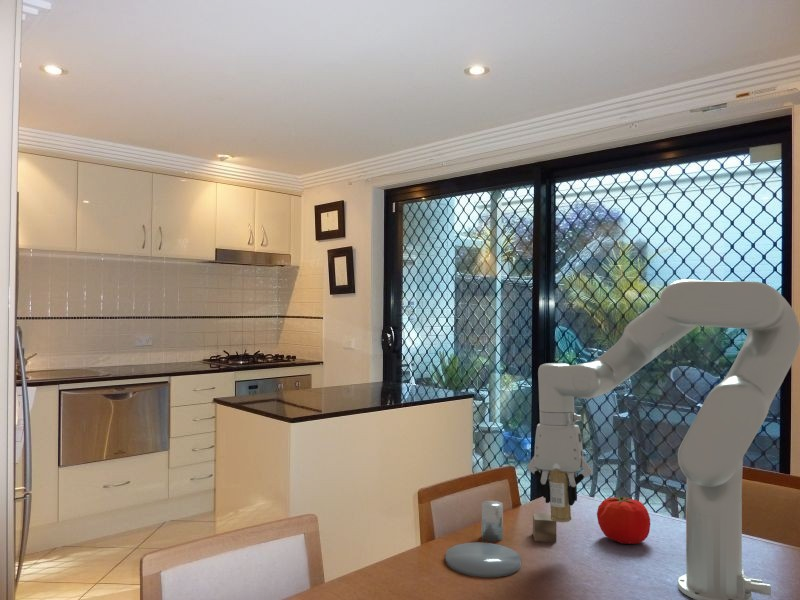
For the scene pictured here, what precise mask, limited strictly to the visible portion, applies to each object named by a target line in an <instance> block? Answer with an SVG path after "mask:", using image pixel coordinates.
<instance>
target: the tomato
mask: <svg viewBox="0 0 800 600" xmlns="http://www.w3.org/2000/svg"><path fill="white" fill-rule="evenodd" d="M633 496H634V495H630V496H628V497H624V496H617V497H615V496H612V497H608V498H605V499H604V500H603V501H601V503H599V505H598V507H597V510H596V517H597V522H598V523H597V524H598V525H599V528H600V530H601V532H602V533H603V535H604V536H605V537H607V538H608V539H609V540H612V541H615V542H617V543H620V544H629V545H636V544H639V543H642V542H644V541H645V540H646V539H647V538H648V536H649V534H650V531H651V530H650V529H651V516H650V514H649V511H648V509H647V508H646V506H645V505H644V504H643V502H641V501H639V500H637V499H632V498H631V497H633Z"/></svg>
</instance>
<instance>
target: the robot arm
mask: <svg viewBox="0 0 800 600" xmlns="http://www.w3.org/2000/svg"><path fill="white" fill-rule="evenodd" d="M799 322H800V321H799V320H798V317H797V315H796V312H795V311H794V309H793V307H792V306H791V305H790V303H789V302H788V301H787V299H786V298H785V297H784V296H783V295H782V294H781V293H780V292H779V291H778V290H777V289H776V288H774V287H773V286H771V285H769V284H767V283H764V282H759V281H742V280H740V281H739V280H736V281H735V280H733V281H731V280H700V279H699V280H698V279H697V280H696V279H679V280H675V281H673V282H672V283H670V284H668V285H667V286H666V287H665V288H664V289H663V291H662V293H661V294H660V297H659V299H658V300H657V301H656V302H655V303H653V304H652V305H651V306H650V307H648V308H647V309H646V310H644V311H643V312H641V314H639V315H638V316H636V317H635V318H634V319H633V320H631V321H630V322H629V323H628V324H627V325H626V326H625V327H624V330H623V333H622V334H621V336H620V338H619V339H618V340H617V342H615V343H614V344H613V345H612V346H611V347H610V348H608V349H607V350H606V351H605V352H603V353H602V354H601V355H600V356H598V357H597V358H596V359H594V360H593V361H587V362H583V363H578V364H569V363H564V362H551V363H550V362H548V363H547V362H546V363H543V364H540V365H539V367H538V369H537V370H538V371H537V377H538V381H537V382H538V403H539V404H538V405H539V408H538V409H539V423H538V424H537V425H536V430H535V436H534V437H535V438H534V440H535V441H534V455H533V456H532V458H531V459H530V461H529V463H528V464H527V465H526V469H527V470H528V471H529V472H531V473H532V474H533V475H534V476H535V477H536V478H537V479H538V481H540V483H541V485H542V496H543V498H544V500H545V501H544V502H545V503H546V504H550V487H549V471H553V470H554V468H553V465H554V464H555V463H556V464H558V465H559V466H560V469H558V470H560V471H562V472H566V473H567V474H568V478H569V487H568V501H569V505H570V507H571V506H573V505H574V504H575V503H576V502H577V501H578V490H577V489H578V487H577V486H578V484H580V483H581V482H582V480H584V479H586V478H587V477H589V476H591V475H592V474H593V471H594V470H593V469H592V468H591V466H590V465H589V464H588V462H587V461H586V460H585V458H584V448H583V440H582V435H581V429H580V426H579V424H576V422H578V421H579V422H581V421H582V414H578V413H576V411H575V398H577V399H585V400H586V399H587V400H589V399H590V400H591V399H593V398H597V397H599V396H602V395H605V394H608V393H610V392H611V391H613V390H614V389H615V388H617V387H618V386H620V385H621V384H622V383H624V381H626V380H628V379H630V377H632V376H633V375H634V374H636V373H637V372H638V371H639V370H641V369H642V368H643V367H644V366H646V365H647V364H649V363H650V362H652V361H653V360H654V359H655V358H657V356H659V355H660V354H662V353H663V352H665V350H667V349H669V348H670V347H671V346H672V345H674V344H675V343H677V342H678V341H679V340H680V339H681V338H683V337H685V336H686V335H687V334H689V333H690V332H692V331H693V330H694V329H696V328H697V327H711V328H724V329H729V328H730V329H744V330H746V331H747V332H746V333H747V334H746V337H745V340H744V342H743V345H742V347H741V348H740V350H739V351H738V353H737V356H736V358H735V359H734V362H733V363H732V365H731V367H730V369H729V371H727V374H726V376H725V377H724V378H723V380H722V381H721V382H720V383H718V384H717V385H716V386H714V387H713V388H712V389H711V391H710V392H709V393H708V395H707V396H706V398H705V399H704V401H703V403H702V405H701V406H700V408H699V411H698V412H697V414H696V415H695V417H694V418H693V419H694V420H692V423H691V425H690V427H689V428H688V430H687V432H686V434H685V436H684V437H683V439H682V441H681V443H680V445H679V448H678V451H677V462H678V465H679V468H680V470H681V472H682V474H683V475H684V476H685V477H686V487H685V488H686V489H685V491H686V494H685V501H686V502H685V535H686V536H685V543H686V545H685V549H686V550H685V551H686V552H685V555H686V557H685V566H686V567H685V568H686V570H685V574H683V575H681V576H679V577H678V579H677V588H678V589H679V591H680V592H681V593H682V594H684V595H685V596H687V597H689V598H691V599H692V600H752V599H753V598H752V597H753V596H752V593H756V594H760V595H764V596H769V597H771V596H772V587H771V584H768V583H763V580H762V579H760V578H759V579H758V578H751V577H749V576H748V575H745V572H744V568H743V559H742V558H743V545H742V544H743V543H742V541H743V540H742V539H743V537H742V536H743V530H742V529H743V527H742V525H743V524H742V522H743V521H742V517H743V516H742V514H743V510H742V508H743V507H742V506H743V501H742V499H743V496H742V494H743V469H744V468H743V467H744V465H743V464H744V456H745V454H746V453H747V451H748V450H749V448H750V446H751V445H752V443H753V441H754V440H755V437H756V436H757V434H758V432H759V431H760V428H761V427H762V425H763V423H764V422H765V420H766V418H767V416H768V413H769V410H770V407H771V405H772V403H773V400H774V398H775V396H776V395H777V393H778V391H779V389H780V388H781V386H782V384H783V383H784V380H785V378H786V376H787V375H788V373H789V371H790V369H791V367H792V365H793V362H794V361H795V359H796V356H797V353H798V351H799V347H800V323H799ZM581 469H582V470H583V471H582V472H580V471H581ZM578 472H580V473H579V474H578V475H577V473H578Z"/></svg>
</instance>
